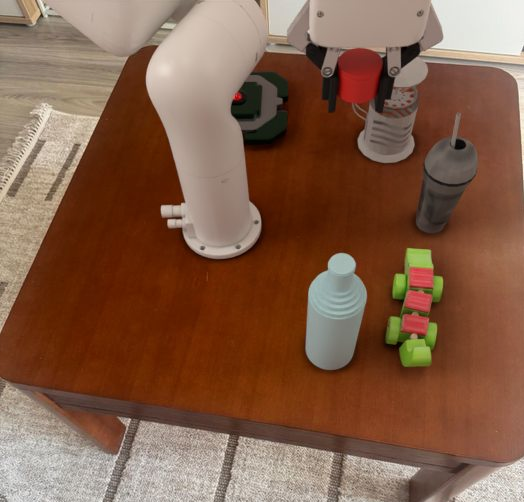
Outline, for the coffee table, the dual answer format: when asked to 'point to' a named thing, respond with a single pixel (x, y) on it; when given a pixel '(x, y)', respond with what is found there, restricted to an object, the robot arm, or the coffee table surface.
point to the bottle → (334, 313)
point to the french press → (386, 126)
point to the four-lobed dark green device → (261, 108)
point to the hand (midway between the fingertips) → (354, 102)
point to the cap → (359, 75)
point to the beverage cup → (445, 180)
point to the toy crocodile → (415, 309)
